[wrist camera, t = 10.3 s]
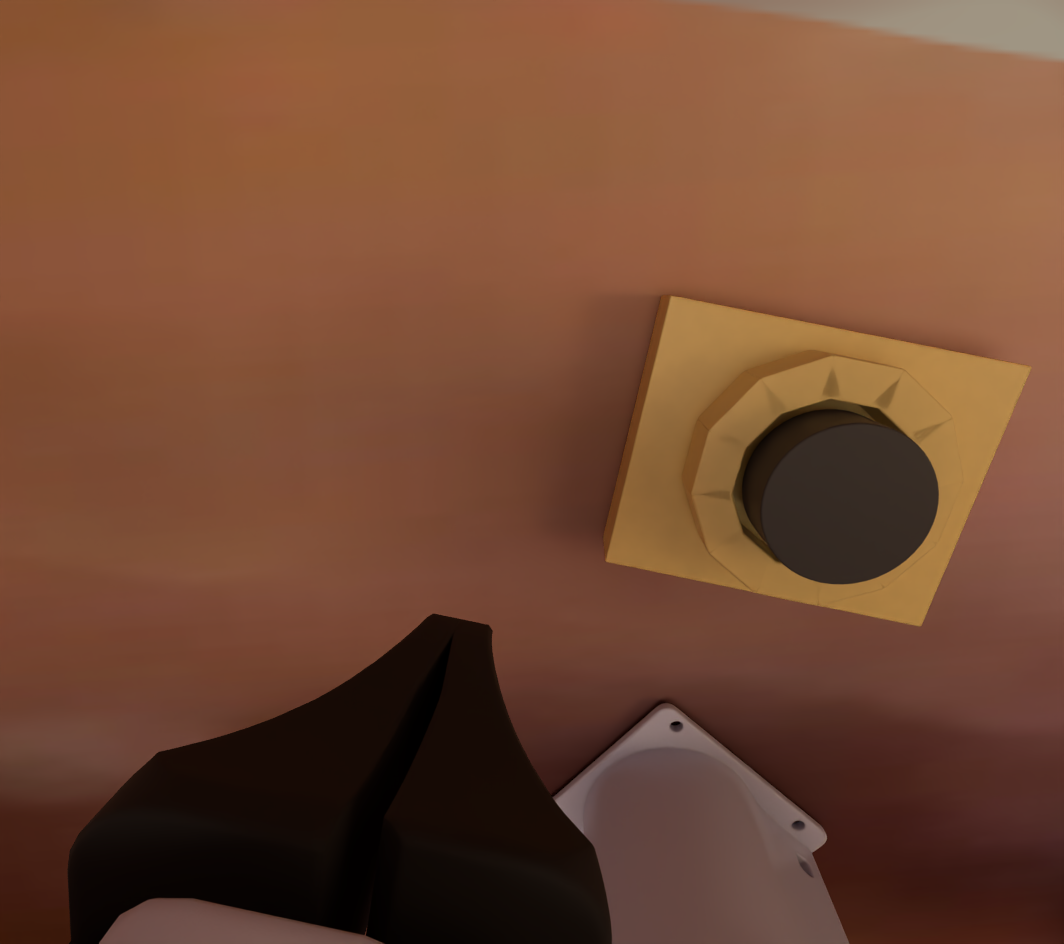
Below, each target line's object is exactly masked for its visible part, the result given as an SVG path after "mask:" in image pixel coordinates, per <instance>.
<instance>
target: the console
mask: <svg viewBox="0 0 1064 944" xmlns="http://www.w3.org/2000/svg"><path fill="white" fill-rule="evenodd" d="M1030 370H1031V367H1030V366H1027V365H1022V364H1017V363H1012V362H1006V361H1001V360H996V359H991V358H986V357H981V356H976V355H971V354H966V353H961V352H956V351H951V350H946V349H941V348H936V347H931V346H925V345H920V344H915V343H910V342H905V341H900V340H895V339H890V338H885V337H880V336H875V335H870V334H865V333H860V332H855V331H850V330H845V329H839V328H834V327H829V326H824V325H819V324H814V323H809V322H804V321H799V320H794V319H789V318H784V317H779V316H774V315H769V314H764V313H758V312H753V311H748V310H743V309H738V308H733V307H728V306H723V305H718V304H713V303H708V302H703V301H698V300H693V299H688V298H683V297H678V296H672V295H662V296H661V299H660V304H659V308H658V312H657V316H656V320H655V324H654V328H653V333H652V337H651V341H650V345H649V349H648V353H647V357H646V362H645V366H644V370H643V374H642V378H641V382H640V386H639V390H638V395H637V399H636V403H635V407H634V411H633V415H632V419H631V424H630V428H629V432H628V436H627V440H626V444H625V448H624V453H623V457H622V461H621V465H620V469H619V473H618V477H617V481H616V486H615V490H614V494H613V498H612V502H611V506H610V510H609V515H608V519H607V523H606V527H605V531H604V535H603V541H604V552H605V561H606V562H610V563H614V564H619V565H624V566H629V567H634V568H639V569H644V570H648V571H653V572H658V573H663V574H668V575H673V576H677V577H682V578H687V579H692V580H697V581H702V582H707V583H711V584H716V585H721V586H726V587H731V588H736V589H740V590H745V591H750V592H755V593H757V594H762V595H767V596H772V597H777V598H781V599H786V600H791V601H796V602H801V603H806V604H810V605H818V606H823V607H828V608H833V609H837V610H842V611H847V612H852V613H857V614H862V615H867V616H871V617H876V618H881V619H886V620H891V621H896V622H901V623H905V624H910V625H915V626H921V625H922V623H923V621H924V618H925V616H926V614H927V611H928V609H929V607H930V604H931V602H932V600H933V597H934V595H935V593H936V590H937V588H938V586H939V583H940V581H941V578H942V576H943V574H944V571H945V569H946V567H947V564H948V562H949V560H950V557H951V555H952V553H953V550H954V548H955V546H956V543H957V541H958V539H959V536H960V534H961V532H962V529H963V527H964V525H965V522H966V520H967V518H968V515H969V513H970V511H971V508H972V506H973V504H974V501H975V499H976V497H977V494H978V492H979V490H980V487H981V485H982V483H983V480H984V478H985V475H986V473H987V471H988V468H989V466H990V464H991V461H992V459H993V457H994V454H995V452H996V450H997V447H998V445H999V443H1000V440H1001V438H1002V436H1003V433H1004V431H1005V429H1006V426H1007V424H1008V422H1009V419H1010V417H1011V415H1012V412H1013V410H1014V408H1015V405H1016V403H1017V401H1018V398H1019V396H1020V394H1021V391H1022V389H1023V387H1024V384H1025V382H1026V380H1027V377H1028V375H1029V372H1030ZM823 409H838V410H846V411H850V412H854V413H857V414H860V415H862V416H864V417H867V418H869V419H871V420H874V421H876V422H878V423H881V424H883V425H885V426H887V427H890V428H892V429H894V430H897V431H899V432H901V433H902V434H904V435H906V436H907V437H909V438H910V439H912V440H913V441H914V442H915V443H916V444H918V446H919V447H920V448H921V449H922V450H923V451H924V452H925V454H926V455H927V457H928V458H929V460H930V461H931V464H932V466H933V468H934V470H935V473H936V477H937V481H938V488H939V503H938V509H937V514H936V517H935V520H934V523H933V525H932V528H931V530H930V532H929V534H928V535H927V537H926V538H925V540H924V541H923V543H922V544H921V546H920V547H919V548H918V549H917V550H916V551H915V553H914V554H912V555H911V556H910V557H909V558H908V559H907V560H906V561H905V562H903V563H902V564H901V565H899V566H898V567H896V568H895V569H893V570H891V571H890V572H888V573H886V574H884V575H881V576H879V577H877V578H874V579H871V580H868V581H864V582H859V583H854V584H843V585H842V584H827V583H820V582H816V581H813V580H809V579H807V578H804V577H802V576H800V575H798V574H796V573H794V572H793V571H791V570H790V569H788V568H787V567H786V566H785V565H783V564H782V563H781V562H780V561H779V560H778V559H777V558H776V557H775V555H774V554H773V552H772V551H771V550H770V548H769V547H768V546H767V544H766V543H765V542H764V540H763V539H762V538H761V536H760V535H759V534H758V532H757V531H756V530H755V528H754V527H753V525H752V524H751V522H750V520H749V518H748V516H747V514H746V511H745V508H744V504H743V499H742V483H743V476H744V472H745V469H746V466H747V463H748V461H749V459H750V457H751V455H752V453H753V451H754V450H755V448H756V447H757V446H758V444H759V443H760V442H761V441H762V440H763V438H764V437H765V436H766V435H767V434H768V433H770V432H771V431H772V430H773V429H774V428H776V427H777V426H779V425H780V424H782V423H783V422H785V421H787V420H789V419H791V418H792V417H795V416H797V415H800V414H803V413H806V412H810V411H814V410H823Z"/></svg>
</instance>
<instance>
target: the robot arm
mask: <svg viewBox="0 0 1064 944" xmlns="http://www.w3.org/2000/svg"><path fill="white" fill-rule="evenodd" d="M492 632H493V631H492V629H491V628H490V626H489V625H486V624H481V623H476V622H472V621H467V620H462V619H457V618H452V617H447V616H443V615H438V614H432V615H430V616H429V617H427V618H426V619H425V620H424V621H423V622H422V623H421V624H420V625H419V626H418V627H417V628H415V629H414V630H413V631H412V632H411V633H410V634H409V635H408V636H406V637H405V638H404V639H403V640H402V641H401V642H399V643H398V644H397V645H396V646H394V647H393V648H392V649H391V650H389V651H388V652H387V653H386V654H384V655H383V656H382V657H381V658H379V659H378V660H377V661H375V662H374V663H373V664H371V665H370V666H368V667H367V668H365V669H364V670H362V671H361V672H360V673H358V674H357V675H355V676H354V677H352V678H351V679H349V680H348V681H346V682H345V683H343V684H341V685H340V686H338V687H336V688H335V689H333V690H331V691H330V692H328V693H326V694H324V695H322V696H321V697H319V698H317V699H315V700H313V701H311V702H309V703H306V704H304V705H302V706H300V707H298V708H295V709H293V710H291V711H289V712H286V713H284V714H282V715H280V716H277V717H275V718H273V719H270V720H268V721H265V722H262V723H259V724H257V725H254V726H251V727H249V728H245V729H242V730H239V731H236V732H233V733H230V734H227V735H224V736H221V737H217V738H214V739H210V740H206V741H202V742H198V743H194V744H190V745H186V746H182V747H178V748H174V749H170V750H166V751H161V752H158V753H157V754H156V755H155V756H154V757H153V758H152V759H151V760H150V761H148V762H147V763H146V764H145V765H144V766H143V767H142V768H141V769H140V770H138V771H137V772H136V773H135V774H134V775H133V776H132V777H131V778H130V779H129V780H128V781H127V782H126V783H125V784H124V785H123V786H122V787H121V788H120V789H119V790H118V791H117V793H116V794H115V795H114V796H113V797H112V798H111V799H110V800H109V801H108V802H107V803H106V805H105V806H104V807H103V808H102V809H101V810H100V811H99V812H98V813H97V814H96V815H95V817H94V818H93V819H92V820H91V821H90V822H89V823H88V824H87V825H86V826H85V827H84V829H83V830H82V831H81V832H80V833H79V835H78V837H77V838H76V840H75V842H74V844H73V846H72V848H71V849H70V854H69V862H68V889H69V909H70V929H71V941H70V943H69V944H849V942H848V939H847V937H846V935H845V932H844V930H843V927H842V925H841V922H840V920H839V918H838V915H837V913H836V910H835V908H834V906H833V903H832V901H831V898H830V896H829V893H828V891H827V889H826V886H825V884H824V881H823V879H822V877H821V874H820V872H819V869H818V867H817V864H816V862H815V860H814V857H813V855H812V853H813V852H814V851H815V850H817V849H818V848H820V847H821V846H822V845H823V844H824V843H825V842H826V840H827V836H826V833H825V831H824V829H823V827H822V826H821V825H820V824H818V823H817V822H816V821H815V820H814V819H812V818H811V817H810V816H809V815H807V814H806V813H805V812H804V811H803V810H801V809H800V808H799V807H798V806H796V805H795V804H794V803H793V802H792V801H790V800H789V799H788V798H787V797H785V796H784V795H783V794H782V793H781V792H779V791H778V790H777V789H776V788H774V787H773V786H772V785H771V784H770V783H768V782H767V781H766V780H765V779H763V778H762V777H761V776H760V775H759V774H757V773H756V772H755V771H754V770H752V769H751V768H750V767H749V766H748V765H746V764H745V763H744V762H743V761H741V760H740V759H739V758H738V757H737V756H735V755H734V754H733V753H732V752H730V751H729V750H728V749H727V748H726V747H724V746H723V745H722V744H721V743H719V742H718V741H717V740H716V739H715V738H713V737H712V736H711V735H710V734H708V733H707V732H706V731H705V730H704V729H702V728H701V727H700V726H699V725H697V724H696V723H695V722H694V721H693V720H691V719H690V718H689V717H688V716H686V715H685V714H684V713H683V712H682V711H680V710H679V709H678V708H677V707H675V706H674V705H672V704H668V703H664V704H660V705H659V706H657V707H656V708H655V709H654V710H652V711H651V712H650V713H649V714H648V715H647V716H646V717H644V718H643V719H642V720H641V721H640V722H639V723H638V724H636V725H635V726H634V727H633V728H632V729H631V730H630V731H628V732H627V733H626V734H625V735H624V736H623V737H622V738H620V739H619V740H618V741H617V742H616V743H615V744H613V745H612V746H611V747H610V748H609V749H608V750H607V751H605V752H604V753H603V754H602V755H601V756H600V757H599V758H597V759H596V760H595V761H594V762H593V763H592V764H591V765H589V766H588V767H587V768H586V769H585V770H584V771H583V772H581V773H580V774H579V775H578V776H577V777H576V778H574V779H573V780H572V781H571V782H570V783H569V784H568V785H566V786H565V787H564V788H563V789H562V790H561V791H560V792H558V793H557V794H556V795H555V796H554V797H553V798H552V796H551V795H550V793H549V792H548V790H547V788H546V787H545V785H544V784H543V782H542V781H541V779H540V777H539V776H538V774H537V773H536V771H535V769H534V768H533V766H532V765H531V763H530V761H529V759H528V757H527V755H526V753H525V751H524V749H523V747H522V745H521V743H520V741H519V739H518V737H517V735H516V732H515V730H514V728H513V725H512V723H511V720H510V718H509V715H508V712H507V709H506V706H505V704H504V701H503V697H502V694H501V691H500V687H499V683H498V679H497V675H496V671H495V666H494V660H493V653H492ZM674 721H679V722H681V723H680V724H679V725H676V726H673V725H671V723H672V722H674ZM795 821H800V822H797V823H793V822H795ZM367 925H368V926H367ZM366 928H367V933H366V936H365V932H366Z"/></svg>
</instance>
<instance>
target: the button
mask: <svg viewBox="0 0 1064 944" xmlns="http://www.w3.org/2000/svg"><path fill="white" fill-rule="evenodd" d="M742 499H743V504H744V508H745V511H746V514H747V516H748V518H749V520H750V522H751V524H752V525H753V527H754V528H755V530H756V531H757V532H758V534H759V535H760V536H761V538H762V539H763V540H764V542H765V543H766V544H767V546H768V547H769V548H770V550H771V551H772V552H773V554H774V555H775V557H776V558H777V559H778V560H779V561H780V562H781V563H782V564H783V565H785V566H786V567H787V568H788V569H790V570H791V571H793V572H794V573H796V574H798V575H800V576H802V577H804V578H807V579H809V580H813V581H816V582H820V583H827V584H842V585H843V584H854V583H859V582H864V581H868V580H871V579H874V578H877V577H879V576H881V575H884V574H886V573H888V572H890V571H891V570H893V569H895V568H896V567H898V566H899V565H901V564H902V563H903V562H905V561H906V560H907V559H908V558H909V557H910V556H911V555H912V554H914V553H915V551H916V550H917V549H918V548H919V547H920V546H921V544H922V543H923V541H924V540H925V538H926V537H927V535H928V534H929V532H930V530H931V528H932V525H933V523H934V520H935V517H936V514H937V509H938V503H939V488H938V481H937V477H936V473H935V470H934V468H933V466H932V464H931V461H930V460H929V458H928V457H927V455H926V454H925V452H924V451H923V450H922V449H921V448H920V447H919V446H918V444H916V443H915V442H914V441H913V440H912V439H910V438H909V437H907V436H906V435H904V434H902V433H901V432H899V431H897V430H894V429H892V428H890V427H887V426H885V425H883V424H881V423H878V422H876V421H874V420H871V419H869V418H867V417H864V416H862V415H860V414H857V413H854V412H850V411H846V410H838V409H823V410H814V411H810V412H806V413H803V414H800V415H797V416H795V417H792V418H791V419H789V420H787V421H785V422H783V423H782V424H780V425H779V426H777V427H776V428H774V429H773V430H772V431H771V432H770V433H768V434H767V435H766V436H765V437H764V438H763V440H762V441H761V442H760V443H759V444H758V446H757V447H756V448H755V450H754V451H753V453H752V455H751V457H750V459H749V461H748V463H747V466H746V469H745V472H744V476H743V483H742Z"/></svg>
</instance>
